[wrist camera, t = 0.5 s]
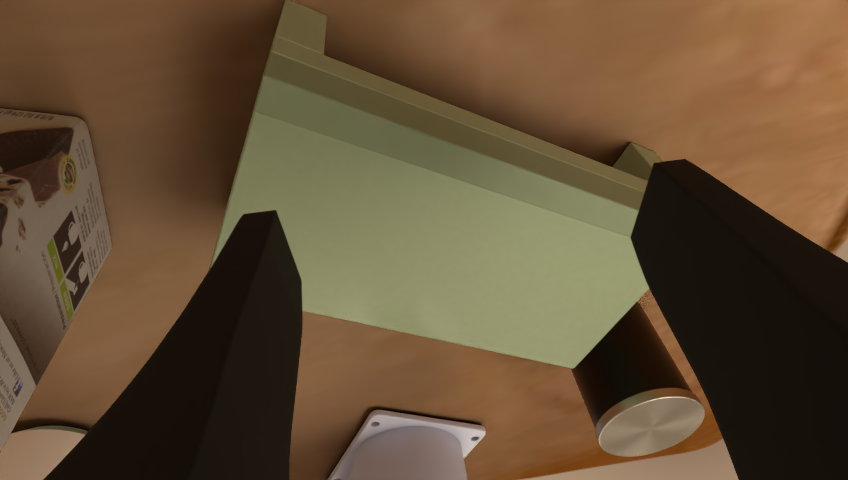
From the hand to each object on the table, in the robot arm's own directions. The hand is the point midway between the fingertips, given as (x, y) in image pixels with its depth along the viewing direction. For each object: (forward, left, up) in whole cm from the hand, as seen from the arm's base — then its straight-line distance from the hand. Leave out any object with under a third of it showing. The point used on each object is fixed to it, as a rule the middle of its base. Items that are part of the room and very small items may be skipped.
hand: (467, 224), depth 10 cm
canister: (-10, -16, -11) cm, 22 cm away
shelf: (-5, -4, -11) cm, 12 cm away
